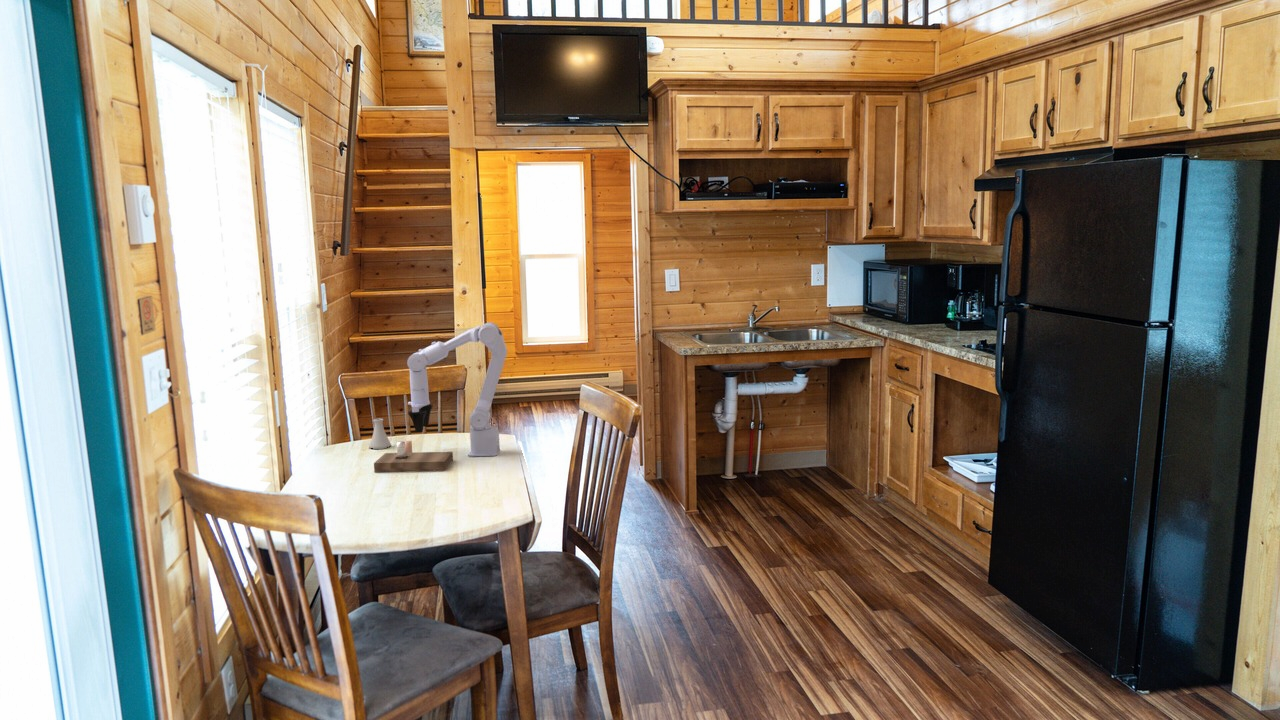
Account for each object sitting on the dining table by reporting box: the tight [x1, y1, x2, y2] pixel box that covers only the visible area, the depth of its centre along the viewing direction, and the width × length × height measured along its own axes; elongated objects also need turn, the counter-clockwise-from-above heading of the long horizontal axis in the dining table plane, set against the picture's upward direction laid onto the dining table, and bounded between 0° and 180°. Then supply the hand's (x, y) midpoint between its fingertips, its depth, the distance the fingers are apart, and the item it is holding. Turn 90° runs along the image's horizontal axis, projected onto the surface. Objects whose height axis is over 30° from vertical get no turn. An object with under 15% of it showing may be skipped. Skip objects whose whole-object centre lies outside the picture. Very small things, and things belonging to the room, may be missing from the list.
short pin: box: [404, 440, 413, 453], centre depth 282 cm, size 2×2×4 cm
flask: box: [368, 418, 392, 450], centre depth 292 cm, size 7×7×10 cm
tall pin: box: [396, 440, 406, 459], centre depth 267 cm, size 2×2×8 cm
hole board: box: [373, 451, 454, 473], centre depth 267 cm, size 22×12×3 cm, turn 90°
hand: (422, 429), depth 278 cm, fingers open, 7 cm apart
